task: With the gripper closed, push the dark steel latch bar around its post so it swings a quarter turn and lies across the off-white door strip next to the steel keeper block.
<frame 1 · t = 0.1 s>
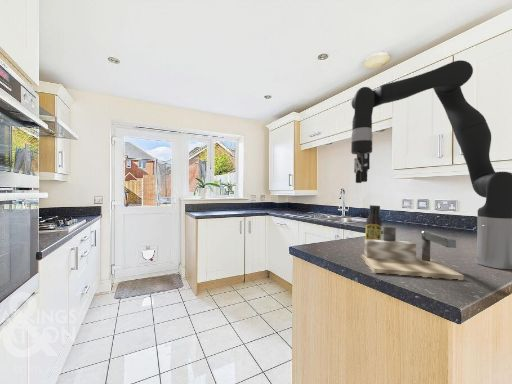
hand: (361, 182, 93), 29 cm above the worktop, tool pointing down, fingers open, 8 cm apart
sauce bottle: (372, 251, 103), on the worktop
door frame board: (404, 267, 80), on the worktop
latch bar: (436, 238, 78), point 11 cm above the worktop, hinge at 0.0°
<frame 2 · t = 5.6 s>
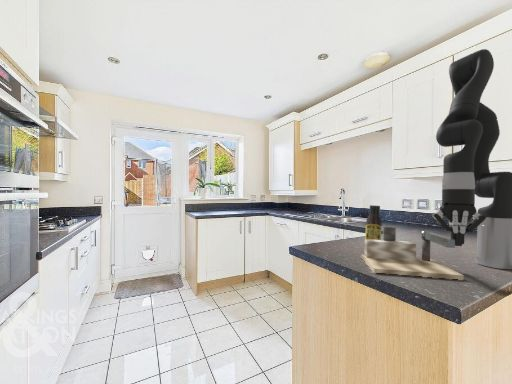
hand: (457, 245, 71), 10 cm above the worktop, tool pointing down, fingers closed
latch bar: (436, 238, 78), point 11 cm above the worktop, hinge at 1.1°, touching gripper
everything else where it was.
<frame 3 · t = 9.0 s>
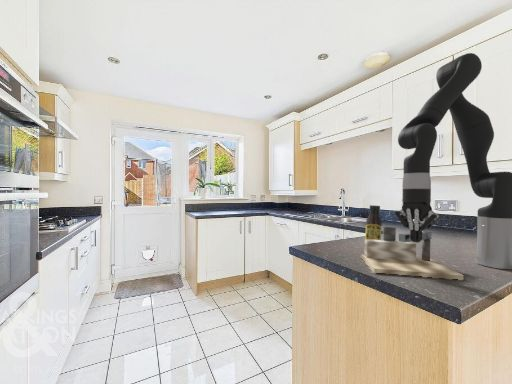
hand: (416, 241, 76), 10 cm above the worktop, tool pointing down, fingers closed
latch bar: (415, 236, 81), point 10 cm above the worktop, hinge at 49.8°, touching gripper
everything else where it was.
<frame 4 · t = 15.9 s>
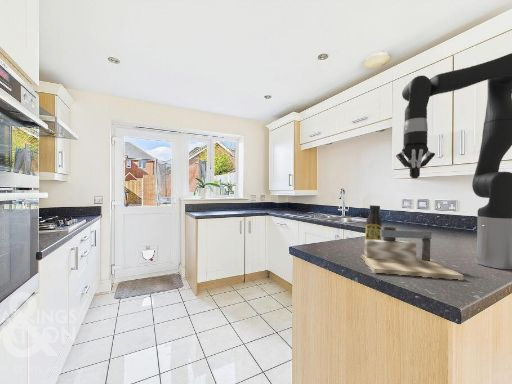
hand: (414, 178, 90), 31 cm above the worktop, tool pointing down, fingers closed
latch bar: (405, 234, 85), point 10 cm above the worktop, hinge at 87.8°
everything else where it was.
at the end: latch bar at +88° (first picture: +0°); the gripper is holding nothing; sauce bottle moved 0.2 cm from its start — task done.
